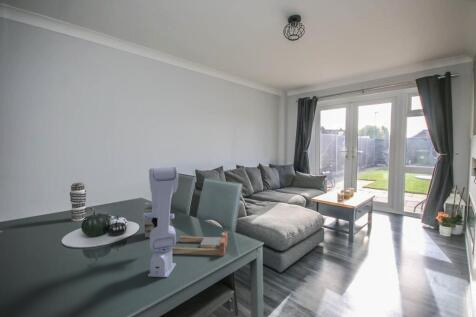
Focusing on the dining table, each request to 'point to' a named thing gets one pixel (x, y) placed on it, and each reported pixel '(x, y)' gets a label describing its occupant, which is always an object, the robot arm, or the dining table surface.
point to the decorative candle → (78, 201)
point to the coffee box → (148, 222)
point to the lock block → (210, 243)
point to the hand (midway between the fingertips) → (159, 232)
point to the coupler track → (201, 250)
